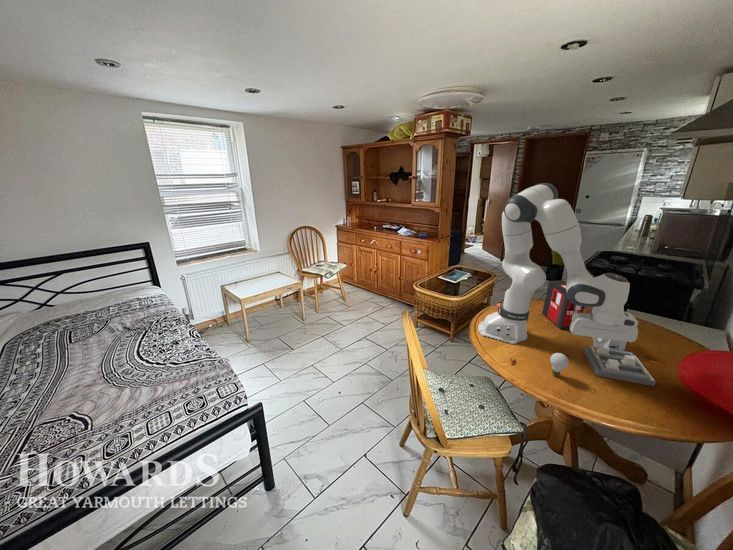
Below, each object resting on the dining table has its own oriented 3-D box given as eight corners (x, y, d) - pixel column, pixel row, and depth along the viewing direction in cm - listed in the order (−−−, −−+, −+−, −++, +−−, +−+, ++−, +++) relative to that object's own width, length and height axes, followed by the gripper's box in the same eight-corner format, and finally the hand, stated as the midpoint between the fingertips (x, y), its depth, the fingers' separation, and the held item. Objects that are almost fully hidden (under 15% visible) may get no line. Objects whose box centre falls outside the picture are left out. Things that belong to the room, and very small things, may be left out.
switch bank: (596, 375, 113) (598, 368, 112) (583, 350, 128) (585, 344, 127) (654, 386, 107) (657, 378, 106) (633, 359, 122) (636, 352, 121)
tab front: (606, 369, 113) (609, 362, 112) (603, 365, 116) (606, 357, 114) (619, 372, 112) (621, 364, 110) (616, 367, 114) (618, 359, 113)
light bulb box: (624, 352, 126) (631, 331, 122) (606, 351, 128) (613, 330, 124) (610, 338, 136) (616, 319, 132) (594, 337, 137) (600, 318, 134)
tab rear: (597, 355, 122) (600, 347, 121) (595, 350, 124) (597, 344, 123) (609, 356, 120) (611, 349, 119) (606, 352, 123) (609, 345, 122)
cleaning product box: (541, 313, 160) (549, 280, 153) (557, 313, 160) (565, 280, 153) (560, 329, 145) (569, 293, 137) (578, 329, 145) (588, 293, 137)
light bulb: (543, 370, 117) (548, 349, 113) (558, 370, 117) (563, 349, 113) (552, 380, 112) (557, 359, 108) (567, 380, 111) (573, 359, 108)
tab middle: (623, 365, 115) (625, 358, 114) (620, 361, 118) (622, 354, 116) (635, 367, 114) (638, 360, 112) (632, 363, 116) (635, 356, 115)
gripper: (575, 315, 109) (568, 346, 114) (644, 323, 101) (633, 355, 106) (571, 308, 114) (564, 337, 119) (636, 314, 107) (626, 346, 111)
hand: (597, 346), depth 112 cm, fingers closed
